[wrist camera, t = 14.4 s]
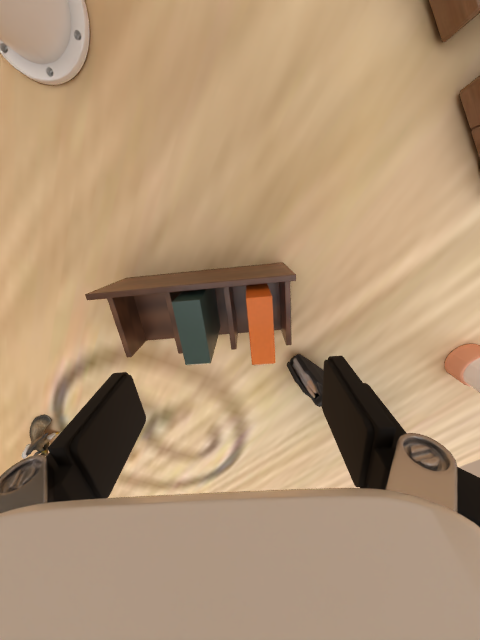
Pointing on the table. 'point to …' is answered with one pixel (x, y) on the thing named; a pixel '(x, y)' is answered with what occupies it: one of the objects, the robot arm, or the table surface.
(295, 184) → the table surface
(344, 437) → the robot arm
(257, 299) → the orange book
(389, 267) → the table surface
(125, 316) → the book rack
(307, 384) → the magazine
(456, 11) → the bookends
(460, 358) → the pepper shaker
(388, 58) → the table surface
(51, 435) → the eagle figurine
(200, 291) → the green book
